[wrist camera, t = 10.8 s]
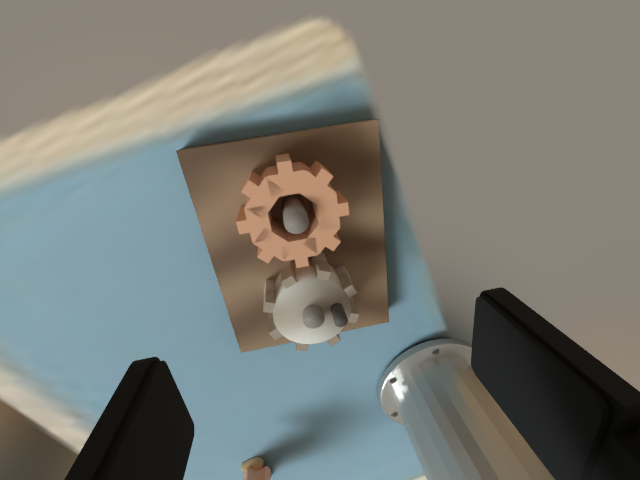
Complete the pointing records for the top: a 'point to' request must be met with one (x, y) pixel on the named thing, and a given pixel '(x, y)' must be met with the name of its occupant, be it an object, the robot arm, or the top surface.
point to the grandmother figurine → (256, 469)
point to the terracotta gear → (272, 231)
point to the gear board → (239, 250)
